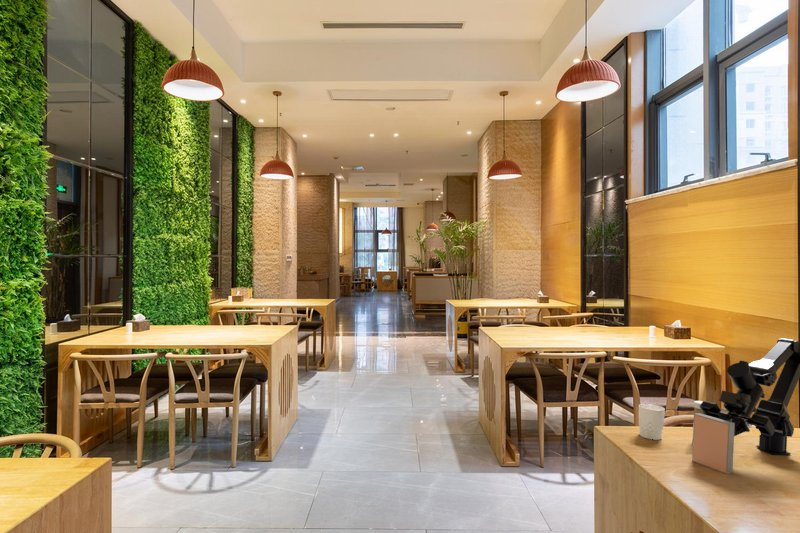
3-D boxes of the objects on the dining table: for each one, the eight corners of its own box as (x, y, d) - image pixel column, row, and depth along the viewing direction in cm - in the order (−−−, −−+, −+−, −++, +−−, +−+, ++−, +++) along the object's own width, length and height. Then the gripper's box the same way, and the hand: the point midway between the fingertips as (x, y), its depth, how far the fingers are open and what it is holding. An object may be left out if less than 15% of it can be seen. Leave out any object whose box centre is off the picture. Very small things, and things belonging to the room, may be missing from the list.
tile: (697, 459, 149) (699, 413, 149) (732, 472, 140) (734, 423, 140) (691, 461, 148) (693, 413, 148) (727, 474, 139) (729, 424, 139)
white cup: (657, 433, 172) (659, 404, 172) (667, 441, 164) (669, 411, 164) (633, 431, 173) (635, 403, 173) (642, 439, 165) (644, 409, 165)
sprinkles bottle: (697, 439, 167) (699, 399, 167) (711, 444, 163) (713, 403, 163) (689, 441, 165) (690, 400, 165) (702, 446, 161) (704, 404, 161)
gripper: (704, 374, 157) (681, 413, 152) (771, 389, 140) (747, 432, 135) (718, 397, 161) (695, 436, 155) (784, 414, 144) (762, 457, 139)
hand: (723, 439), depth 146 cm, fingers closed
